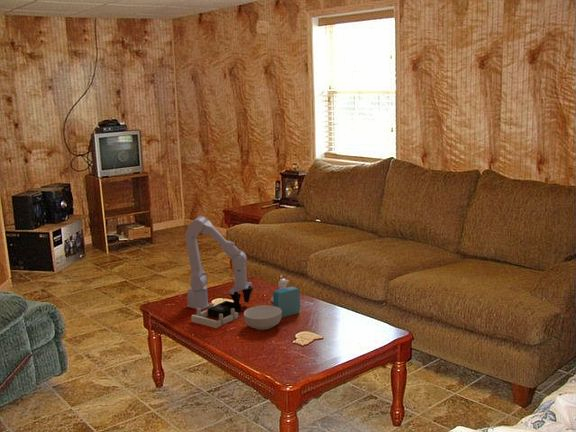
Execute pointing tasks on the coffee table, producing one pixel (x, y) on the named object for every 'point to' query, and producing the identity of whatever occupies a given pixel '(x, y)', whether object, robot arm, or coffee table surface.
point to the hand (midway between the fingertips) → (241, 304)
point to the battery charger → (223, 309)
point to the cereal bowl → (263, 316)
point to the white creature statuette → (281, 285)
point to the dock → (209, 322)
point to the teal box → (287, 300)
